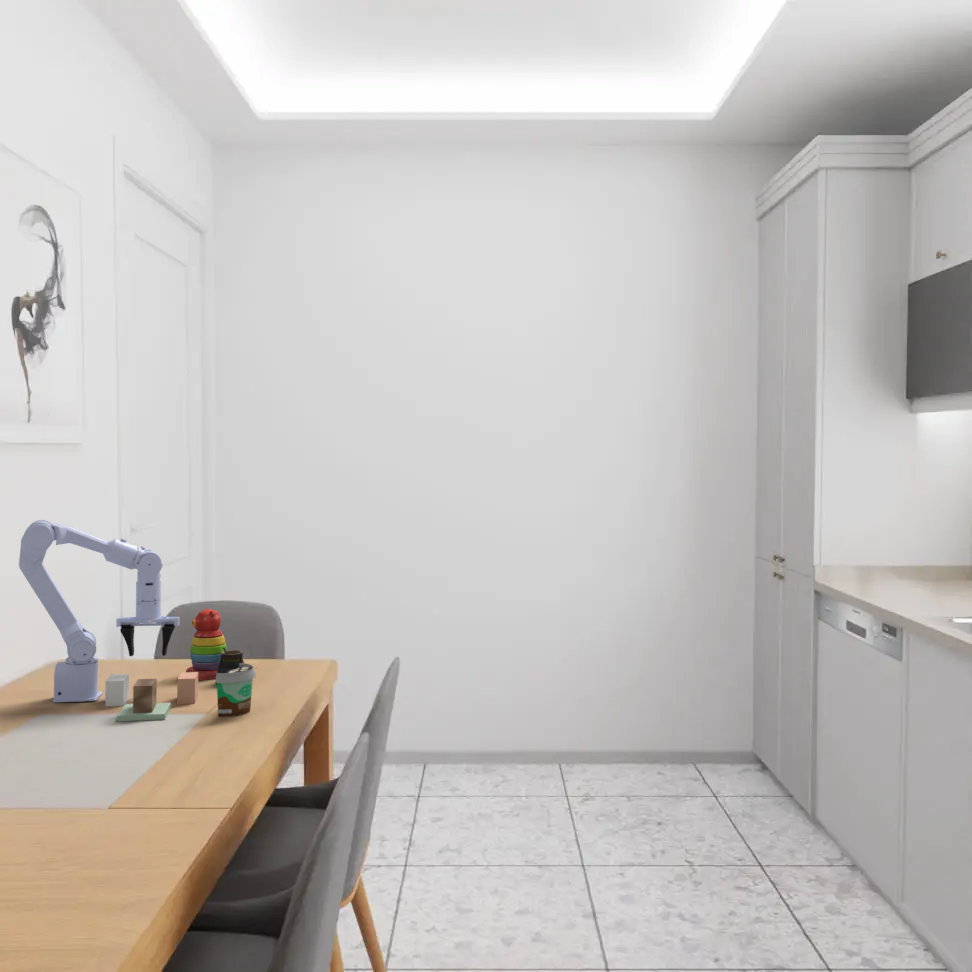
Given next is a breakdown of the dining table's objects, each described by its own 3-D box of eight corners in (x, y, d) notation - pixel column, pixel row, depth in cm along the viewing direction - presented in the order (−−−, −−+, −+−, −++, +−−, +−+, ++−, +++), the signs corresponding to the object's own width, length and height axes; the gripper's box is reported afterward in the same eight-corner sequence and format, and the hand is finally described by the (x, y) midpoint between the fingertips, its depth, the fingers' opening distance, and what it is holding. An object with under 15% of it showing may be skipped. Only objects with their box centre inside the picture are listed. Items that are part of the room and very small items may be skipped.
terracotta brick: (177, 704, 219) (177, 679, 219) (180, 697, 226) (181, 672, 226) (194, 703, 220) (195, 678, 220) (198, 696, 227) (198, 671, 226)
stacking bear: (184, 672, 251) (185, 607, 251) (222, 669, 256) (223, 605, 255) (189, 681, 242) (190, 613, 241) (229, 678, 246) (230, 611, 245)
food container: (240, 720, 206) (241, 675, 206) (215, 718, 207) (215, 673, 207) (264, 706, 218) (265, 663, 218) (240, 704, 219) (240, 662, 219)
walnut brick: (133, 713, 206) (133, 686, 206) (137, 705, 213) (138, 679, 212) (152, 712, 207) (152, 685, 206) (156, 704, 213) (156, 678, 213)
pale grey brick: (105, 706, 216) (105, 681, 216) (111, 699, 223) (111, 674, 222) (123, 706, 216) (123, 680, 216) (128, 698, 223) (129, 673, 223)
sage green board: (117, 721, 203) (117, 715, 203) (125, 709, 213) (125, 704, 213) (164, 719, 205) (164, 714, 205) (170, 707, 215) (170, 702, 215)
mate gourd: (250, 679, 245) (250, 641, 244) (239, 686, 237) (240, 647, 237) (223, 678, 245) (224, 640, 245) (212, 685, 238) (212, 646, 237)
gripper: (113, 602, 223) (113, 659, 223) (176, 602, 225) (176, 657, 226) (119, 598, 230) (119, 653, 230) (180, 598, 232) (180, 652, 233)
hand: (148, 655), depth 228 cm, fingers open, 7 cm apart
